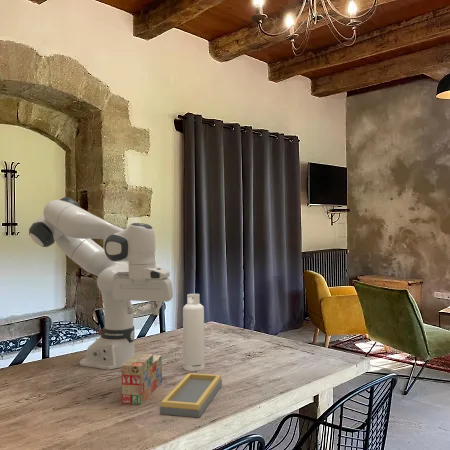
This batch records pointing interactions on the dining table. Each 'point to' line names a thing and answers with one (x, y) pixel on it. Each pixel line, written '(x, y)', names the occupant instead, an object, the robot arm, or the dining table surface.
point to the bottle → (193, 334)
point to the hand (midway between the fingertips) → (142, 314)
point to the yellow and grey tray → (191, 395)
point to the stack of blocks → (140, 377)
